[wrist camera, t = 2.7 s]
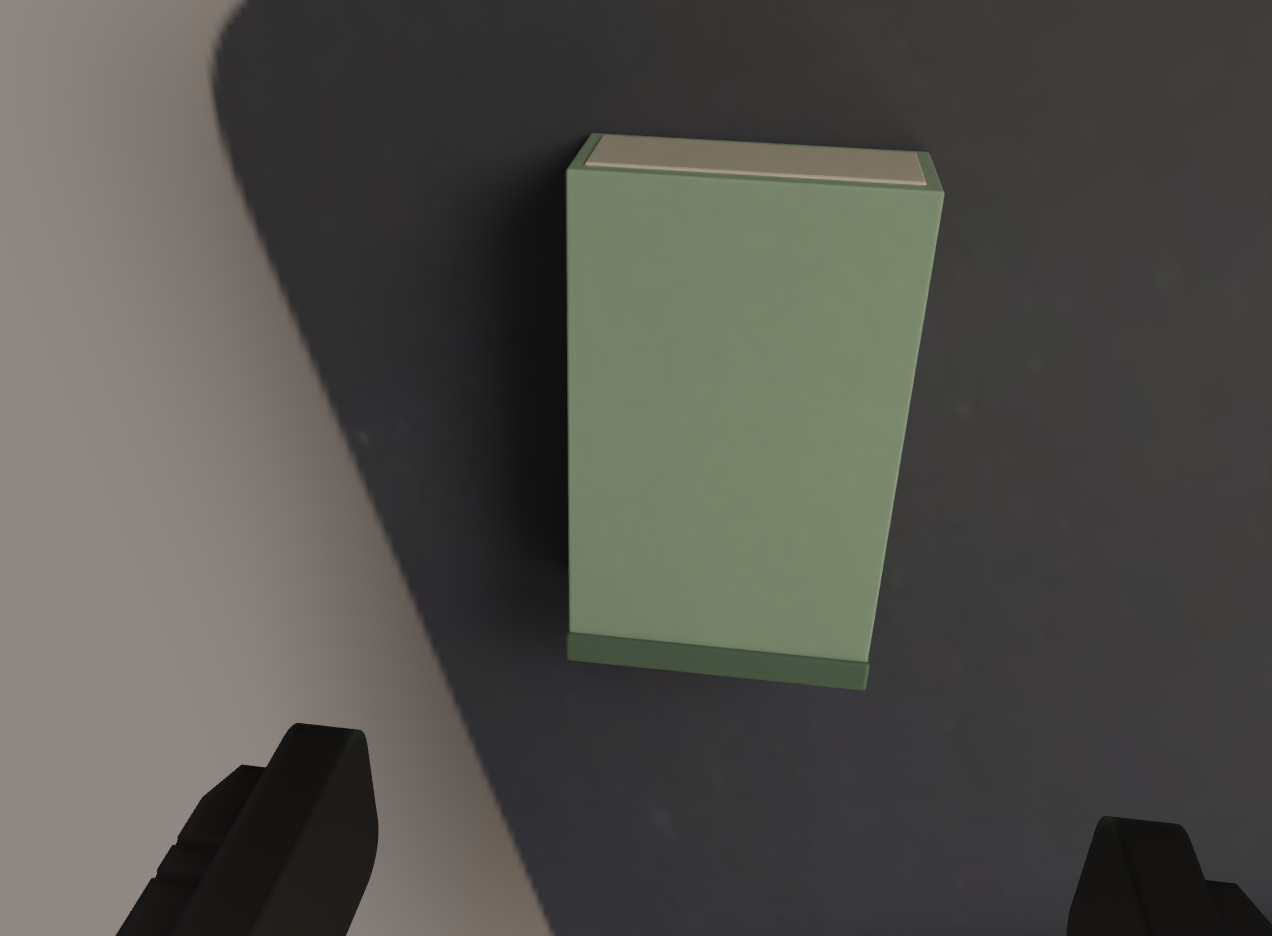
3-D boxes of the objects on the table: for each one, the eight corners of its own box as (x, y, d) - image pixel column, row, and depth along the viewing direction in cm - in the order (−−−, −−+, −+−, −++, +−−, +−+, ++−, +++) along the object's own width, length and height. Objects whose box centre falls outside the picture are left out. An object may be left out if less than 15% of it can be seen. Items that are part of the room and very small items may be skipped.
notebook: (860, 614, 25) (866, 692, 22) (586, 587, 25) (565, 661, 23) (933, 148, 20) (950, 190, 17) (587, 129, 20) (560, 167, 18)
